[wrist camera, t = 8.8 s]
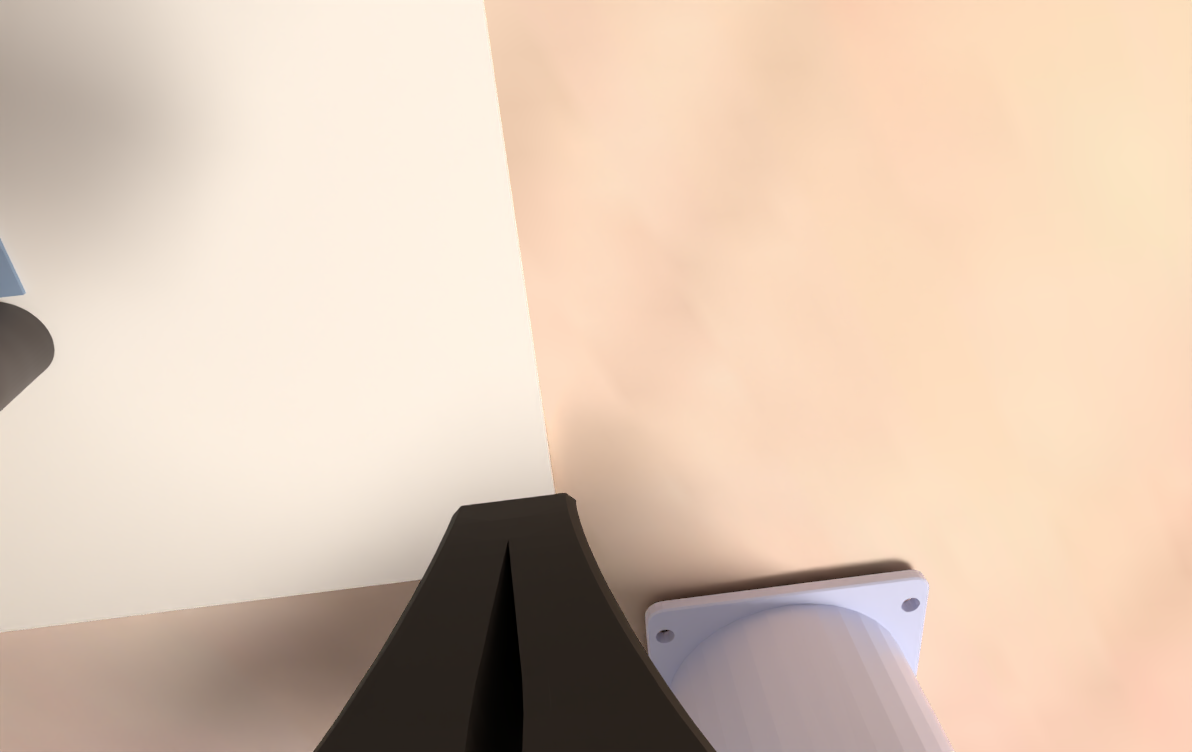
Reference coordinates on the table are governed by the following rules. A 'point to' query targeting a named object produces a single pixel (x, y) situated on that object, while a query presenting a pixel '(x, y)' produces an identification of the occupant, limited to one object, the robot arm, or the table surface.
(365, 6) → the card
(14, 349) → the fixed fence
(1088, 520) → the table surface
